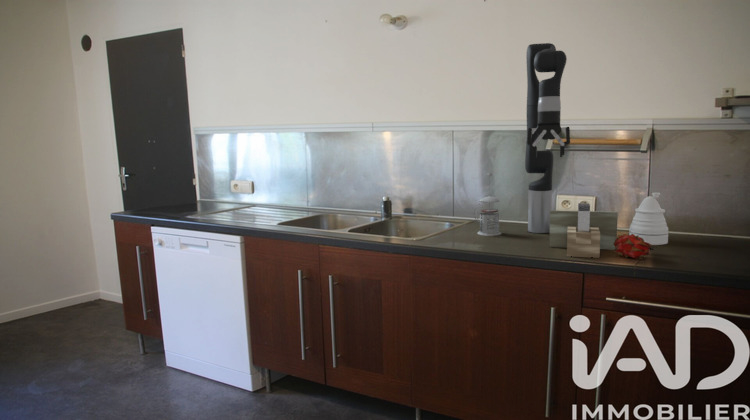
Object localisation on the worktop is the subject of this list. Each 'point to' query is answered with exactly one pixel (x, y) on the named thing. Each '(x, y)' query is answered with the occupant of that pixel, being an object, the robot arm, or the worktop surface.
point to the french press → (488, 216)
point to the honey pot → (650, 222)
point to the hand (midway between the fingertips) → (548, 157)
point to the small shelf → (583, 233)
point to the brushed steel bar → (583, 217)
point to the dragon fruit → (632, 246)
